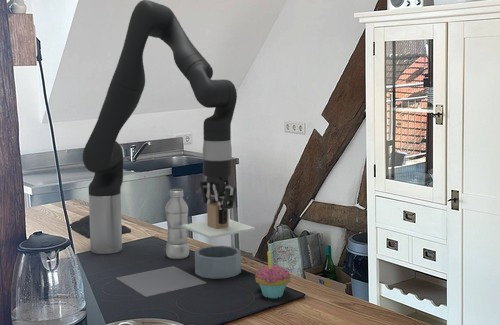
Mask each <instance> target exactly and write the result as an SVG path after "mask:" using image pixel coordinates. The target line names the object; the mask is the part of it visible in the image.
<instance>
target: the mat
mask: <svg viewBox="0 0 500 325" xmlns="http://www.w3.org/2000/svg"><path fill="white" fill-rule="evenodd" d="M115 279H117V280H118V281H119V282H121V283H123V284H124V285H126V286H128V288H131V289H132V290H134V291H135V292H137V293H139V294H140V295H142V296H144V297H146V298H147V297H152V296H156V295H160V294H164V293H165V294H166V293H169V292H174V291H177V290H178V291H179V290H184V289H188V288H191V287H195V286H200V285H204V284H207V282H206V281H204V280H202V279H200V278H198V277H197V276H194V275H192V274H190V273H188V272H187V271H185V270H183V269H181V268H179V267H176V266H174V265H172V266H169V267H168V266H167V267H162V268H157V269H151V270H147V271H142V272H138V273H132V274H128V275H127V274H126V275H123V276H118V277H115Z"/></svg>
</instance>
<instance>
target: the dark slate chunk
mask: <svg viewBox="0 0 500 325" xmlns="http://www.w3.org/2000/svg"><path fill="white" fill-rule="evenodd" d="M69 224H70V226H71V228H72V229H71V231H74V233H77V234H78V235H80V236H83V237H84V238H86V239H89V240H90V215H89V214H88V215H86V216H83V217H82V218H80V219H78V220H75V221H73V222H72V223H69ZM131 232H132V229H131V228H129V227H127V226H126V225H123V224H122V235H125V234H127V233H131Z"/></svg>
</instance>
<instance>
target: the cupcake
mask: <svg viewBox="0 0 500 325" xmlns="http://www.w3.org/2000/svg"><path fill="white" fill-rule="evenodd" d="M266 255H267V266H263V267H260V268H259V269H257V271H256V272H255V274H254V276H255V282H256V284H259V286H260V290H261V293H262V296H263V297H264V298H267V297H268V298H267V299H279V298H281V297H283V294H284V291H285V290H286V287H287V285H288V283H290V282H291V274H290V272H289V271H288V270H287V269H285V268H284V267H283V266H280V265H277V264H274V265H273V264H272V259H271V258H272V257H271V251H270V248H267V254H266ZM278 297H279V298H278Z"/></svg>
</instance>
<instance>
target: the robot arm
mask: <svg viewBox="0 0 500 325" xmlns="http://www.w3.org/2000/svg"><path fill="white" fill-rule="evenodd" d="M149 37H152V38H156V39H157V38H158V39H159V40H161V41H163V42H164V43H165V44H166V45H167V46H168V47H169V49H170V50H171V51H172V54H173V60H174V62H175V65H176V67H177V68H178V70H179V71H180V72H181V74H182V75H183V76H184V77H185V79H187V81H188V82H189V85H190V87H191V90H192V92H193V95H194V97H195V99H196V101H197V102H198V103H199V104H200V105H201V106H203V107H204V108H207V109H208V108H209V109H210V108H211V109H214V108H215V109H214V111H213V115H211V116H209V117H206V118H205V119H204V121H203V126H202V127H203V145H202V175H203V176H204V177H206V179H205V180H202V181H201V180H200V182H199V183H200V189H201V195H202V199H203V200H202V201H203V203H204V204H206V205H207V204H208V203H215V202H218V208H219V224H226V223H227V210H228V211H229V209H232V208H233V206H234V202H235V197H236V192H237V188H236V187H235V186H231V185H230V181H229V177H230V176H232V175H233V156H232V155H233V150H232V149H233V148H232V139H231V138H232V136H231V134H232V133H231V131H232V130H231V129H232V128H231V127H232V125H231V124H232V121H233V118H234V113H235V109H236V105H237V99H238V98H237V97H238V93H237V89H236V86H235V84H234V82H232V81H231V80H229V79H212V78H213V75H214V70H213V67H212V66H211V64H210V63H209V61H208V60H207V59H206V58H205V57H204V56H203V55H202V54H201V52H200V51H198V49H197V47H195V45H194V44H193V43H192V41H191V40H190V38H189V37H188V35H187V33H186V32H185V30H184V28H183V27H182V25H181V23H180V21H179V19H178V18H177V16H176V15H175V13H174V11H172V9H171V8H170V7H168V6H166V5H164V4H160V3H159V2H155V1H151V0H141V1H139V2H138V3H137V4H136V5H135V7H134V9H133V11H132V12H131V16H130V19H129V22H128V27H127V31H126V36H125V39H124V41H123V42H124V43H123V47H122V50H121V53H120V55H119V59H118V62H117V65H116V68H115V70H114V72H113V75H112V78H111V81H110V83H109V86H108V89H107V92H106V96H105V97H104V98H105V99H104V101H103V104H102V106H101V109H100V112H99V115H98V118H97V121H96V123H95V125H94V127H93V130H92V132H91V134H90V135H89V138H88V140H87V141H86V143H85V146H84V148H83V151H82V162H83V165H84V167H85V169H87V170H88V171H89V172H90V173H94V176H93V179H92V180H91V181H90V183H89V185H88V209H89V210H88V211H89V213H88V215H90V239H89V242H90V244H89V246H90V251H91V253H92V254H98V255H106V254H107V255H108V254H110V255H111V254H115V253H119V252H121V251H122V250H123V238H122V237H123V234H122V225H123V224H122V193H121V189H122V185H123V183H124V182H123V180H124V153H123V149H122V146H121V145H120V143H119V142H118V141H117V138H118V136H119V134H120V132H121V130H122V128H123V127H124V125H125V124H126V123H127V122H128V120H129V118H130V117H131V116H132V114H134V112H135V110H136V109H137V107H138V105H139V103H140V100H141V98H142V95H143V92H144V89H145V87H146V74H145V66H144V61H143V60H144V58H143V57H144V50H145V47H146V44H147V41H148V39H149ZM222 203H223V205H222Z"/></svg>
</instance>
